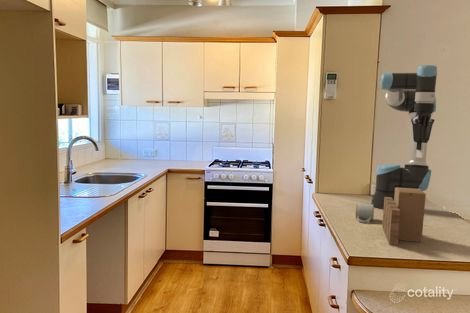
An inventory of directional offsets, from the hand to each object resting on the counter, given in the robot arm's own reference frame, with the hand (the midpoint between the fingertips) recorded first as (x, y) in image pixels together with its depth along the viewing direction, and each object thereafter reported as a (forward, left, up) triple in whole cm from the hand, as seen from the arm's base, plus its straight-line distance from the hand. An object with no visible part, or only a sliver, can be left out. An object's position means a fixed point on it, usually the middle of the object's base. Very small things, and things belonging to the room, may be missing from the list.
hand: (419, 157), depth 168 cm
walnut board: (+17, +1, -32) cm, 37 cm away
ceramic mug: (+8, -20, -33) cm, 39 cm away
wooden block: (+12, +5, -33) cm, 35 cm away
